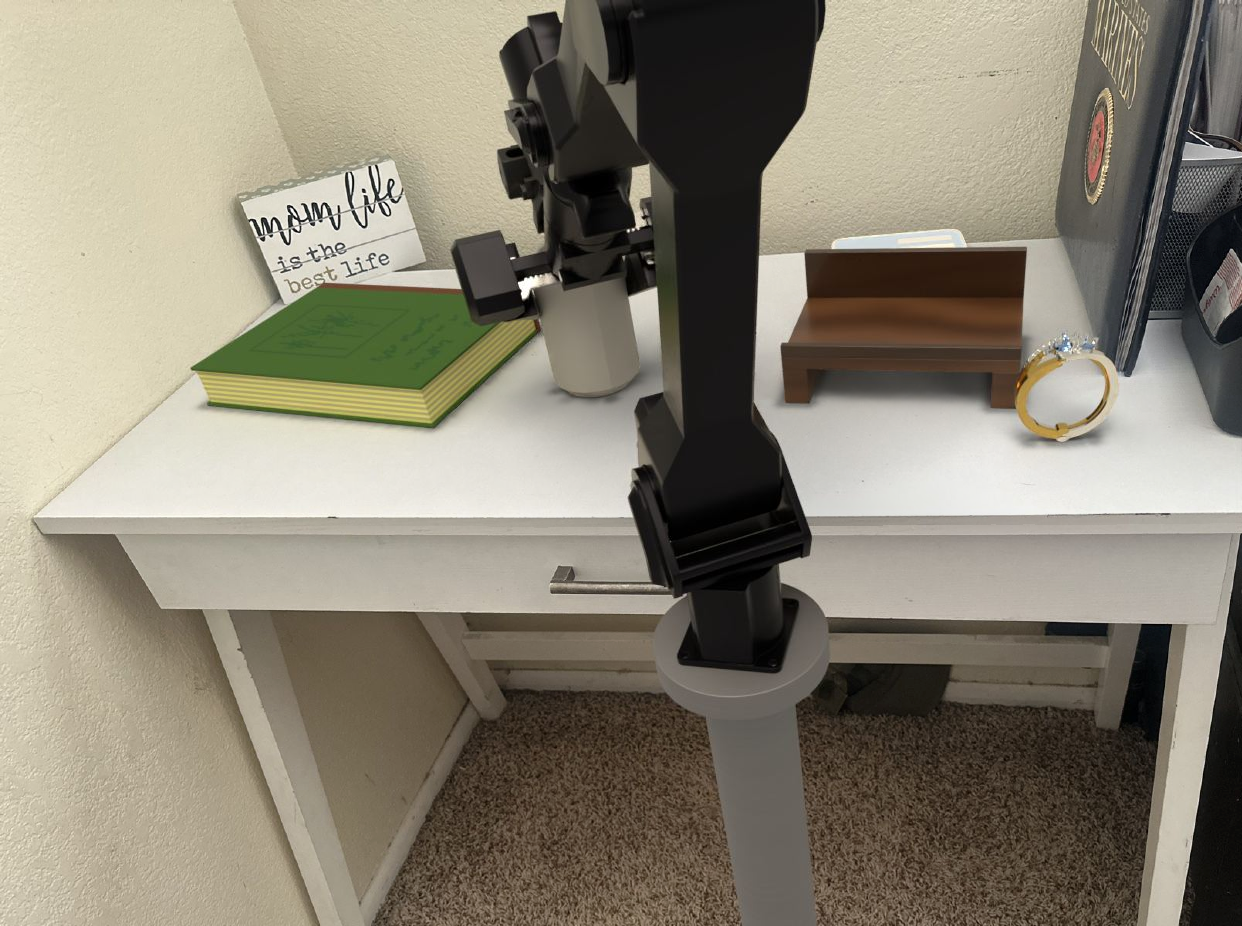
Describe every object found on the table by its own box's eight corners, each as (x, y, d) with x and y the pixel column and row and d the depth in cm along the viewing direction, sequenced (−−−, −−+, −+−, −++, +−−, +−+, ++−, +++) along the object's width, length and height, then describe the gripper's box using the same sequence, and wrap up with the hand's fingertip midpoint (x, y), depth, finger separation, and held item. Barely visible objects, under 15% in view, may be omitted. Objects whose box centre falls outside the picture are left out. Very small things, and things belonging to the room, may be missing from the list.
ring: (1106, 424, 74) (1120, 322, 69) (1116, 448, 71) (1131, 343, 67) (1008, 429, 75) (1015, 328, 70) (1014, 452, 72) (1021, 349, 67)
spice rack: (1017, 408, 77) (1024, 309, 72) (784, 402, 81) (776, 309, 77) (1020, 338, 86) (1027, 246, 81) (811, 336, 91) (805, 249, 86)
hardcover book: (541, 329, 98) (532, 292, 96) (433, 428, 84) (420, 387, 82) (330, 316, 106) (318, 282, 104) (201, 404, 92) (183, 367, 90)
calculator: (838, 337, 90) (837, 316, 89) (830, 253, 106) (829, 235, 105) (991, 325, 89) (992, 304, 88) (960, 242, 105) (961, 224, 103)
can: (623, 353, 92) (599, 221, 85) (655, 384, 86) (631, 246, 79) (545, 377, 90) (512, 243, 82) (571, 411, 84) (539, 271, 77)
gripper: (677, 78, 73) (657, 192, 88) (416, 129, 69) (441, 240, 84) (727, 218, 72) (697, 310, 87) (463, 279, 67) (480, 364, 83)
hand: (580, 302), depth 85 cm, fingers closed on can, 7 cm apart
